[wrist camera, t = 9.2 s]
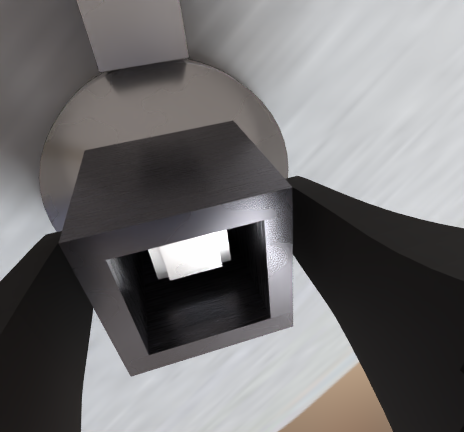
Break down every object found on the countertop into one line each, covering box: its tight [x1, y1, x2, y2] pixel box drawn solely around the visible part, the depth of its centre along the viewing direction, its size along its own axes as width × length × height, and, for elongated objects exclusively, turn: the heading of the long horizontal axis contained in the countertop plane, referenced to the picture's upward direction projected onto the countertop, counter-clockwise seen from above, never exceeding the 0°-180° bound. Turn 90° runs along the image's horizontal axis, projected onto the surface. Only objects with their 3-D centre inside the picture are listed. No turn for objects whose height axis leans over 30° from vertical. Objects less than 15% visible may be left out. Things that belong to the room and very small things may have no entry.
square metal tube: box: [59, 121, 293, 376], centre depth 10 cm, size 5×5×5 cm
